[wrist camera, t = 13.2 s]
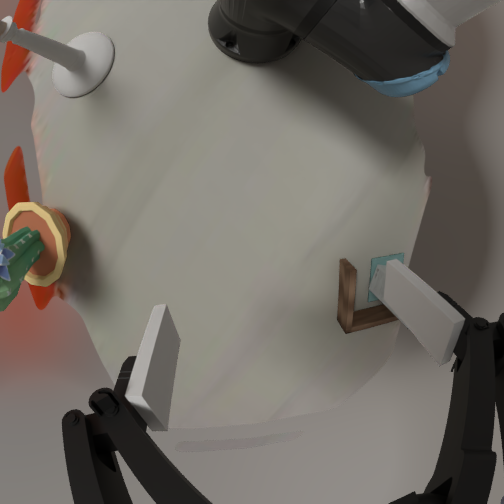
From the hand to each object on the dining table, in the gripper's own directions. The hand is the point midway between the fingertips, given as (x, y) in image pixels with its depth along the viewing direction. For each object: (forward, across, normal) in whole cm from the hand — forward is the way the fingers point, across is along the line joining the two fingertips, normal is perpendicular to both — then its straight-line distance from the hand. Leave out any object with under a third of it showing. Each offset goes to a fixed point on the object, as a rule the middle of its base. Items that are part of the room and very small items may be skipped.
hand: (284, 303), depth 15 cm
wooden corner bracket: (+31, +23, -22) cm, 44 cm away
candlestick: (+31, -24, +30) cm, 50 cm away
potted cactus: (+31, -37, +2) cm, 48 cm away
